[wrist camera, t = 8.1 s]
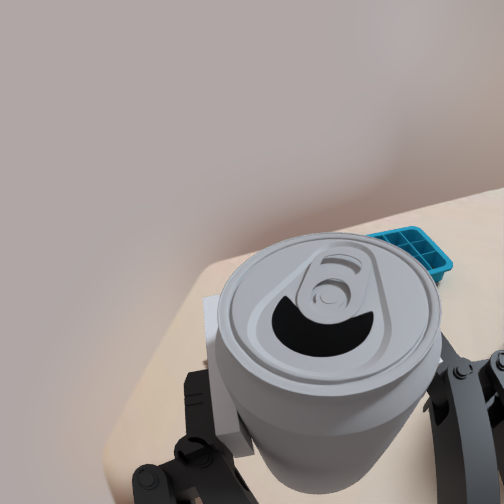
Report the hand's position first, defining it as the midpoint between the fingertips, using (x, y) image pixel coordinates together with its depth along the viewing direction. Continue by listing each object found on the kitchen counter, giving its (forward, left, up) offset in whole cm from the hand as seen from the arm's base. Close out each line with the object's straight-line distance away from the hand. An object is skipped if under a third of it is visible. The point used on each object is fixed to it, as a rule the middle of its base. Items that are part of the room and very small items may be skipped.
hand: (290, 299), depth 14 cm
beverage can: (+2, +5, -7) cm, 9 cm away
